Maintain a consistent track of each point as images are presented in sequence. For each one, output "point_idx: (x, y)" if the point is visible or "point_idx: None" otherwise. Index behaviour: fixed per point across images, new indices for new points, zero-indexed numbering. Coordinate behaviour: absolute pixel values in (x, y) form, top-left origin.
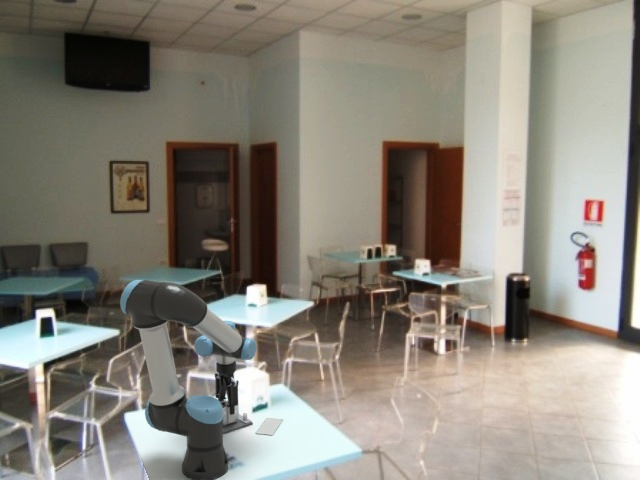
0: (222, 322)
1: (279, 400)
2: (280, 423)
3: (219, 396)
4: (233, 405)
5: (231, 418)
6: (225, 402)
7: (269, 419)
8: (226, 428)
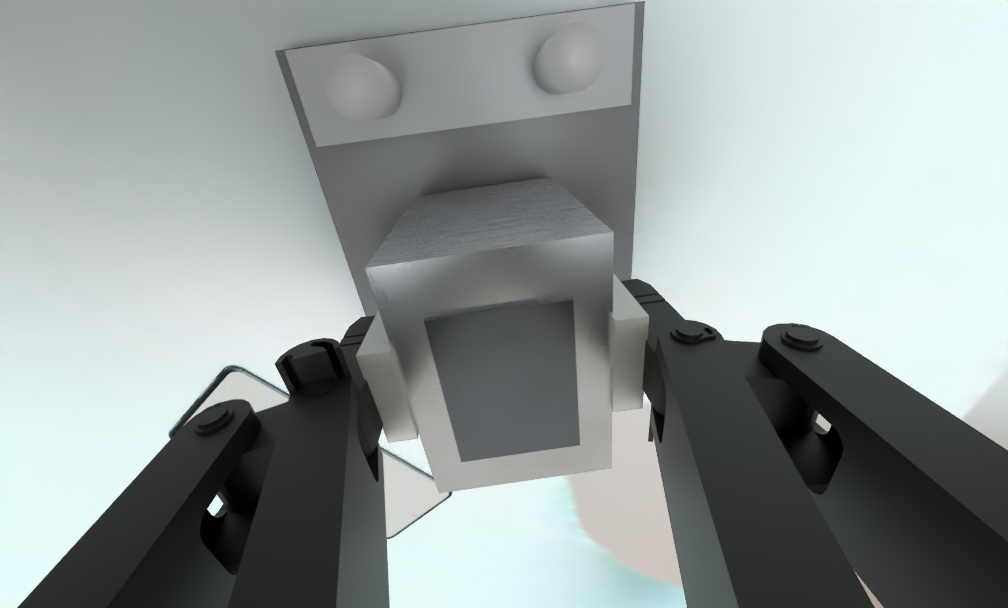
0: None
1: (626, 587)
2: None
3: (701, 383)
4: (190, 433)
5: None
6: (556, 380)
7: (423, 496)
8: (383, 208)
